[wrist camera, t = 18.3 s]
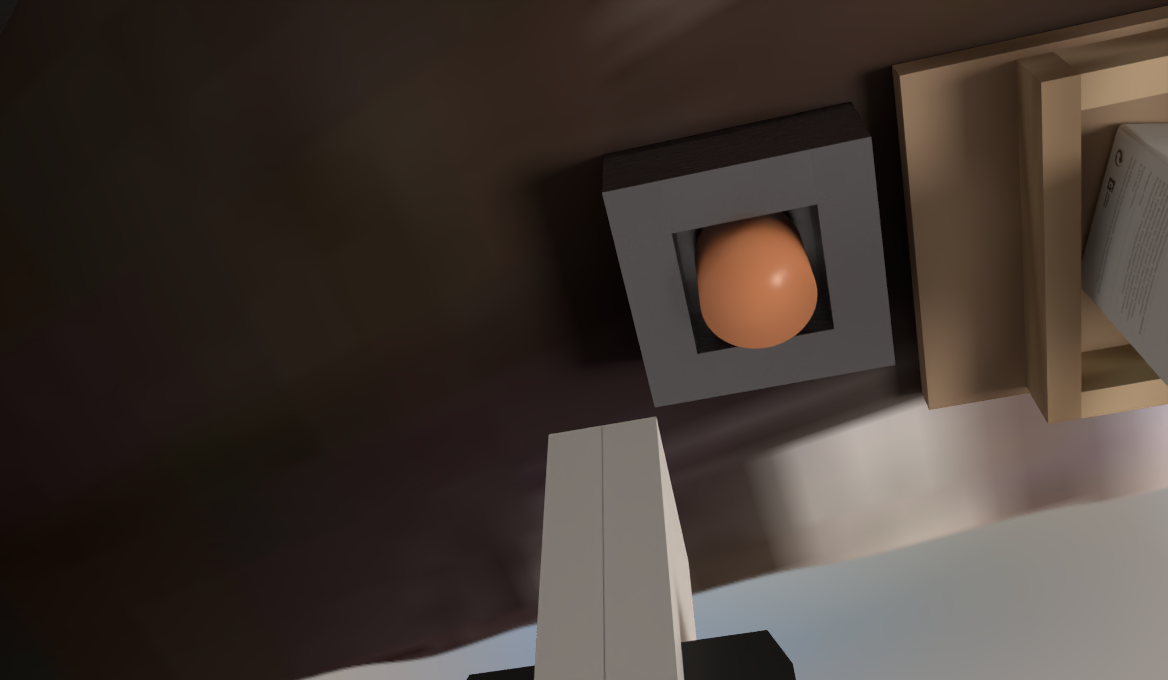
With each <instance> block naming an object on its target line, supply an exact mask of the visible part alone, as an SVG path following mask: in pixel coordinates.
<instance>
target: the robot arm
mask: <svg viewBox="0 0 1168 680" xmlns="http://www.w3.org/2000/svg"><path fill="white" fill-rule="evenodd" d="M17 2H18V0H0V34H1V32H2V31H3V30H4V28H5V27H6V25H7V23H8V21H9V19H10V18H11V16H12V14H13V12H14V9H15V7H16V5H17ZM467 680H796V678H795V673H794V668H793V664H792V662H791V661H790V659H789V658H788V657H787V656H786V654H785V653H784V652H783V650H782V649H781V648H780V646H779V645H778V644H777V642H776V641H775V640H774V639H773V637H772V636H771V634H770V633H769V632H768V631H767V630H764V631H757V632H750V633H743V634H736V635H729V636H722V637H715V638H708V639H701V640H696V631H695V622H694V613H693V602H692V593H691V583H690V574H689V564H688V558H687V554H686V549H685V545H684V540H683V536H682V531H681V527H680V522H679V518H678V513H677V509H676V504H675V500H674V495H673V491H672V486H671V482H670V477H669V473H668V468H667V464H666V459H665V455H664V450H663V446H662V441H661V437H660V432H659V428H658V423H657V419H656V417H651V418H645V419H639V420H633V421H627V422H621V423H615V424H609V425H603V426H597V427H592V428H586V429H580V430H574V431H568V432H562V433H556V434H550V435H549V439H548V456H547V472H546V489H545V506H544V522H543V539H542V556H541V573H540V589H539V606H538V623H537V639H536V656H535V666H528V667H521V668H514V669H508V670H500V671H493V672H486V673H479V674H472V675H469V677H468V678H467Z"/></svg>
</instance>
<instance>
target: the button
mask: <svg viewBox="0 0 1168 680" xmlns="http://www.w3.org/2000/svg"><path fill="white" fill-rule="evenodd" d="M694 259H695V267H696V275H697V283H698V291H699V299H700V307H701V312H702V315H703V318H704V320H705V322H706V324H707V325H708V327H709V328H710V329H711V330H712V332H713V333H714V334H716V335H717V336H718V337H719V338H721V339H722V340H724V341H726V342H728V343H730V344H732V345H735V346H738V347H743V348H751V349H760V348H767V347H772V346H775V345H778V344H781V343H783V342H785V341H787V340H789V339H790V338H792V337H794V336H795V335H796V334H797V333H799V332H800V331H801V330H802V329H803V328H804V327H805V326H806V324H807V323H808V322H809V320H810V318H811V317H812V315H813V313H814V310H815V307H816V303H817V286H816V281H815V278H814V275H813V272H812V269H811V266H810V263H809V260H808V257H807V254H806V251H805V248H804V245H803V242H802V239H801V236H800V233H799V231H798V229H797V227H796V226H795V224H794V223H793V222H792V220H791V219H790V218H788V217H787V216H786V215H785V214H783V213H782V212H777V213H772V214H767V215H762V216H757V217H752V218H747V219H742V220H737V221H732V222H727V223H722V224H717V225H712V226H707V227H704V228H703V229H702V231H701V233H700V234H699V237H698V239H697V242H696V245H695V251H694Z"/></svg>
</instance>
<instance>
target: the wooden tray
mask: <svg viewBox="0 0 1168 680" xmlns="http://www.w3.org/2000/svg"><path fill="white" fill-rule="evenodd" d="M892 70H893V81H894V92H895V103H896V114H897V124H898V135H899V146H900V157H901V168H902V179H903V190H904V201H905V211H906V222H907V233H908V244H909V255H910V266H911V277H912V288H913V298H914V309H915V320H916V331H917V342H918V353H919V364H920V375H921V385H922V394H923V396H924V399H925V401H926V403H927V405H928V408H929V410H931V409H937V408H943V407H949V406H955V405H961V404H966V403H972V402H978V401H984V400H990V399H996V398H1002V397H1008V396H1014V395H1020V394H1025V393H1030V394H1031V395H1032V397H1033V399H1034V400H1035V402H1036V404H1037V406H1038V407H1039V409H1040V411H1041V412H1042V414H1043V416H1044V418H1045V419H1046V421H1047V423H1048V424H1050V423H1056V422H1062V421H1069V420H1075V419H1081V418H1087V417H1093V416H1099V415H1105V414H1111V413H1117V412H1123V411H1129V410H1135V409H1141V408H1147V407H1153V406H1159V405H1165V404H1168V386H1167V385H1166V384H1165V383H1164V382H1163V381H1162V380H1161V378H1160V377H1159V376H1158V375H1157V374H1156V372H1155V371H1154V370H1153V369H1152V368H1151V367H1150V366H1149V365H1148V364H1147V362H1146V361H1145V360H1144V359H1143V357H1142V356H1141V355H1140V354H1139V353H1138V352H1137V351H1136V349H1135V348H1134V347H1133V346H1132V345H1131V344H1130V343H1129V341H1128V340H1127V339H1126V338H1125V337H1124V336H1123V335H1122V333H1121V332H1120V331H1119V330H1118V329H1117V328H1116V327H1115V326H1114V324H1113V323H1112V322H1111V321H1110V320H1109V319H1108V318H1107V317H1106V315H1105V314H1104V313H1103V312H1102V311H1101V310H1100V309H1099V307H1098V306H1097V305H1096V303H1095V302H1094V301H1093V300H1092V299H1091V298H1090V297H1089V296H1088V295H1087V294H1086V292H1085V291H1084V290H1083V289H1082V288H1081V262H1082V259H1083V255H1084V251H1085V248H1086V244H1087V240H1088V236H1089V232H1090V228H1091V224H1092V221H1093V217H1094V213H1095V209H1096V205H1097V201H1098V198H1099V194H1100V190H1101V187H1102V183H1103V179H1104V176H1105V172H1106V168H1107V165H1108V161H1109V157H1110V154H1111V150H1112V146H1113V142H1114V139H1115V135H1116V131H1117V129H1118V128H1119V126H1120V125H1122V124H1143V123H1168V6H1163V7H1159V8H1154V9H1149V10H1145V11H1140V12H1136V13H1131V14H1126V15H1122V16H1117V17H1113V18H1108V19H1103V20H1099V21H1094V22H1090V23H1085V24H1080V25H1076V26H1071V27H1067V28H1062V29H1057V30H1053V31H1048V32H1044V33H1039V34H1034V35H1030V36H1025V37H1021V38H1016V39H1011V40H1007V41H1002V42H998V43H993V44H988V45H984V46H979V47H975V48H970V49H965V50H961V51H956V52H951V53H947V54H942V55H938V56H933V57H928V58H924V59H919V60H915V61H910V62H905V63H901V64H896V65H892Z"/></svg>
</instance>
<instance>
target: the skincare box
mask: <svg viewBox="0 0 1168 680" xmlns="http://www.w3.org/2000/svg"><path fill="white" fill-rule="evenodd" d="M1081 288H1082V289H1083V290H1084V291H1085V292H1086V294H1087V295H1088V296H1089V297H1090V298H1091V299H1092V300H1093V301H1094V302H1095V303H1096V305H1097V306H1098V307H1099V309H1100V310H1101V311H1102V312H1103V313H1104V314H1105V315H1106V317H1107V318H1108V319H1109V320H1110V321H1111V322H1112V323H1113V324H1114V326H1115V327H1116V328H1117V329H1118V330H1119V331H1120V332H1121V333H1122V335H1123V336H1124V337H1125V338H1126V339H1127V340H1128V341H1129V343H1130V344H1131V345H1132V346H1133V347H1134V348H1135V349H1136V351H1137V352H1138V353H1139V354H1140V355H1141V356H1142V357H1143V359H1144V360H1145V361H1146V362H1147V364H1148V365H1149V366H1150V367H1151V368H1152V369H1153V370H1154V371H1155V372H1156V374H1157V375H1158V376H1159V377H1160V378H1161V380H1162V381H1163V382H1164V383H1165V384H1166V385H1167V386H1168V123H1143V124H1122V125H1120V126H1119V128H1118V129H1117V131H1116V135H1115V139H1114V142H1113V146H1112V150H1111V154H1110V157H1109V161H1108V165H1107V168H1106V172H1105V176H1104V179H1103V183H1102V187H1101V190H1100V194H1099V198H1098V201H1097V205H1096V209H1095V213H1094V217H1093V221H1092V224H1091V228H1090V232H1089V236H1088V240H1087V244H1086V248H1085V251H1084V255H1083V259H1082V262H1081Z"/></svg>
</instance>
